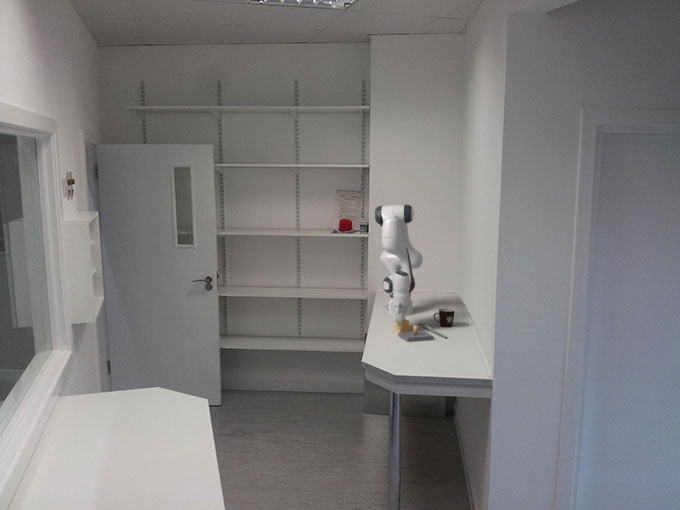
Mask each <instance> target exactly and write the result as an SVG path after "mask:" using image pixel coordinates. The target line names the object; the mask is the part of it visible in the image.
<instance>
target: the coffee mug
mask: <svg viewBox="0 0 680 510" xmlns="http://www.w3.org/2000/svg"><path fill="white" fill-rule="evenodd" d="M436 315H439V320H438V319H437V318H436V317H435V316H436ZM454 317H455V309H454V308H450V307H449V308H447V307H444V308H443V307H442V308H439V309H438V312H434V313H433V318H434V320H435V321H437V322H438V323H439V326H440V327H441V328H452V327H453V326H454Z"/></svg>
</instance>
